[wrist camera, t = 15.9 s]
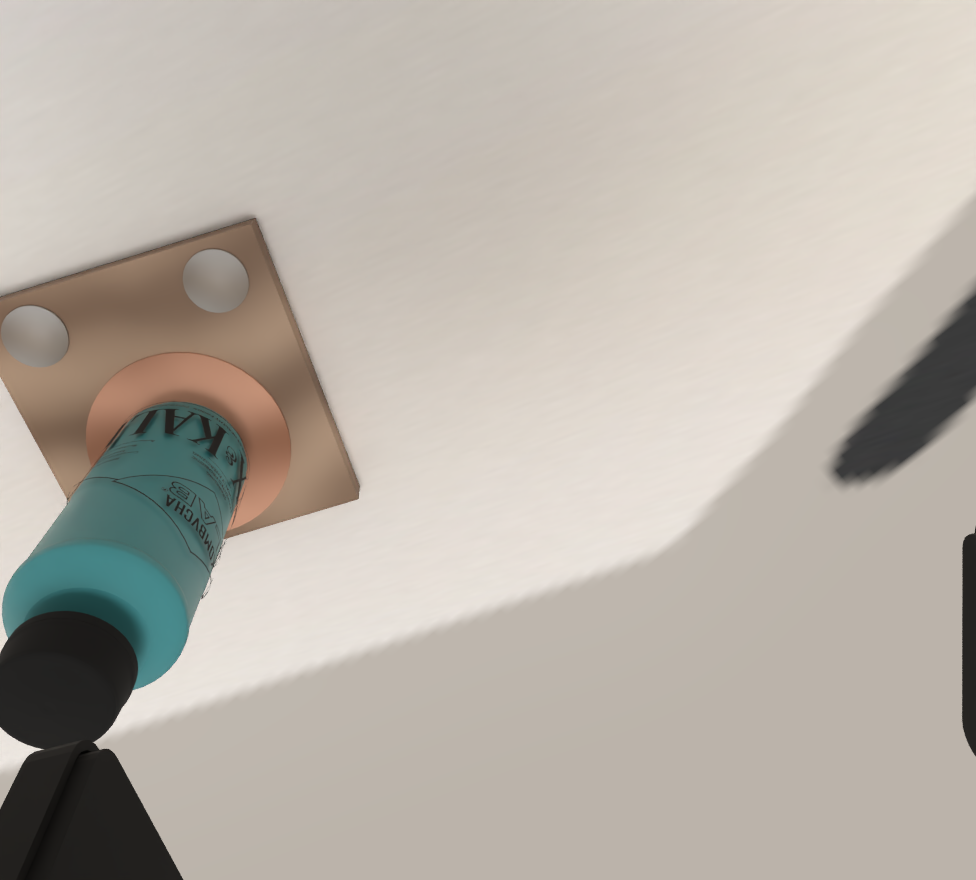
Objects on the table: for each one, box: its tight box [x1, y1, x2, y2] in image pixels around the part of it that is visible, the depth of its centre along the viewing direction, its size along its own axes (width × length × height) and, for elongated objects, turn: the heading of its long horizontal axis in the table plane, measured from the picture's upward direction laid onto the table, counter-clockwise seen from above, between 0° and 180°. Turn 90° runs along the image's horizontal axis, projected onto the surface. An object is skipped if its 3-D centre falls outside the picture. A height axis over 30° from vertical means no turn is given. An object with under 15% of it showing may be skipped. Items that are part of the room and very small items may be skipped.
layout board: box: [0, 218, 360, 539], centre depth 46 cm, size 15×14×2 cm
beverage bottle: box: [0, 401, 250, 749], centre depth 37 cm, size 6×7×20 cm
